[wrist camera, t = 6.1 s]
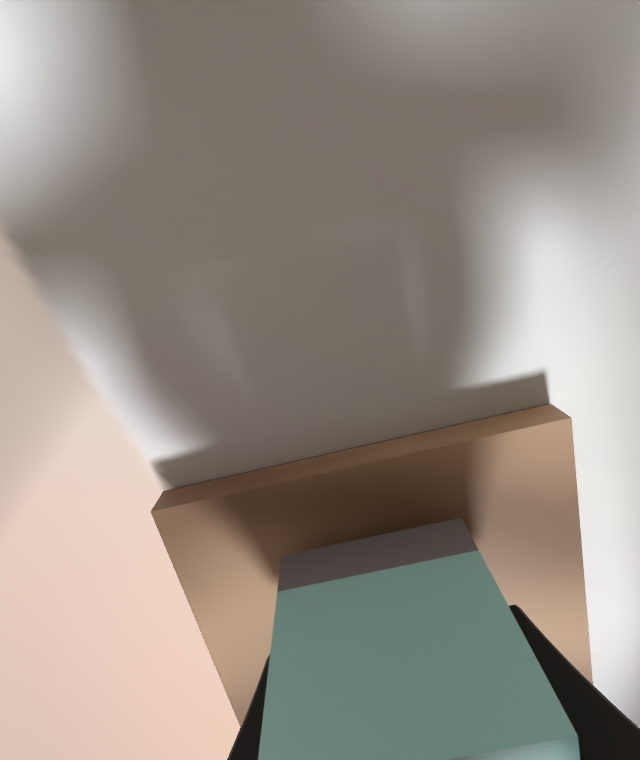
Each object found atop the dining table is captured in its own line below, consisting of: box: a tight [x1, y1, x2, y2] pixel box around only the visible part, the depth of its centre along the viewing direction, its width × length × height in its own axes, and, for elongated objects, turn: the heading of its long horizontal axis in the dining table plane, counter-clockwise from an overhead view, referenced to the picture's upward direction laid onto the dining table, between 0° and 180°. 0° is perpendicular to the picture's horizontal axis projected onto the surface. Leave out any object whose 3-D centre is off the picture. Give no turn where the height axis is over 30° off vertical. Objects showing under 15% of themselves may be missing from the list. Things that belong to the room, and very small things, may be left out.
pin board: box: [151, 404, 593, 727], centre depth 13 cm, size 18×11×4 cm, turn 14°
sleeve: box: [258, 518, 580, 760], centre depth 9 cm, size 5×5×5 cm
